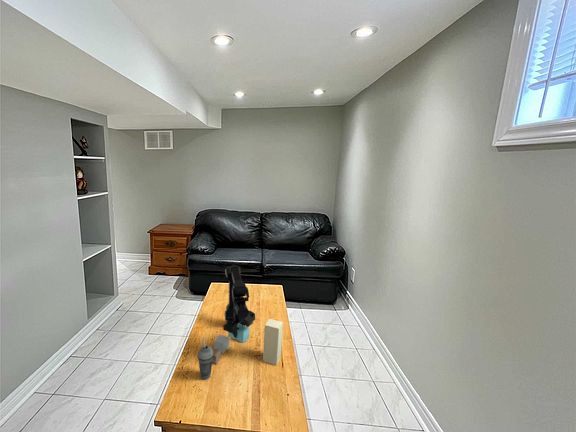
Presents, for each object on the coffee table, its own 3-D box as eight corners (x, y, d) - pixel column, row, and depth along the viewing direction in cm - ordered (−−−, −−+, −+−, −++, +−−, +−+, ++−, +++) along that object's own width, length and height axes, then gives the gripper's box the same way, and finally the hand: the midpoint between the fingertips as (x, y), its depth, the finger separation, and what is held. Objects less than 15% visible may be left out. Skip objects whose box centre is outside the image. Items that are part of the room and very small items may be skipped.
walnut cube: (207, 363, 137) (207, 354, 136) (212, 356, 142) (212, 348, 141) (216, 365, 136) (216, 356, 135) (220, 358, 140) (220, 350, 140)
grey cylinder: (236, 340, 155) (236, 331, 154) (241, 336, 159) (241, 327, 158) (243, 343, 153) (243, 334, 152) (248, 339, 157) (248, 330, 156)
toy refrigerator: (281, 356, 144) (283, 321, 140) (276, 365, 137) (278, 328, 134) (268, 352, 147) (269, 317, 143) (262, 361, 140) (264, 325, 136)
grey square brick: (213, 350, 146) (213, 341, 145) (219, 344, 152) (220, 334, 150) (223, 353, 144) (223, 343, 143) (229, 346, 150) (229, 337, 149)
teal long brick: (228, 336, 143) (228, 326, 142) (234, 331, 148) (234, 321, 147) (243, 342, 139) (243, 332, 138) (249, 337, 143) (249, 327, 142)
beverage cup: (204, 384, 123) (204, 346, 120) (194, 377, 127) (193, 339, 123) (216, 375, 129) (216, 337, 126) (206, 368, 133) (206, 332, 129)
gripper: (240, 321, 128) (239, 350, 131) (262, 304, 145) (261, 331, 147) (222, 314, 133) (222, 342, 136) (245, 299, 150) (244, 324, 153)
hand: (238, 334), depth 143 cm, fingers closed on teal long brick, 5 cm apart
